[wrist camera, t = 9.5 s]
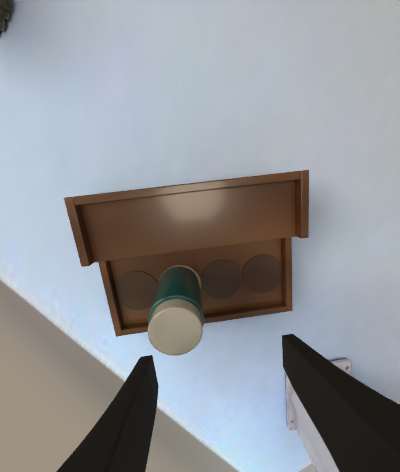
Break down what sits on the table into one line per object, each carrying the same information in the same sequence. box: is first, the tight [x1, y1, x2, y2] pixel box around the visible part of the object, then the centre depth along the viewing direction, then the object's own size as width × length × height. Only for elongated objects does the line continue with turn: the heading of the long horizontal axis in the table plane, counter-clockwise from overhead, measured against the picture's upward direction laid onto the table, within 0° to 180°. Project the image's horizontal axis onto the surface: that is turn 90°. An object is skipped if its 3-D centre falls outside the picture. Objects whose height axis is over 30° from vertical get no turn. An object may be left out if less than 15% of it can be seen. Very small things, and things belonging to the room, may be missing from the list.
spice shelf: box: [64, 170, 309, 336], centre depth 17 cm, size 13×17×5 cm
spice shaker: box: [148, 266, 204, 355], centre depth 15 cm, size 4×4×6 cm
